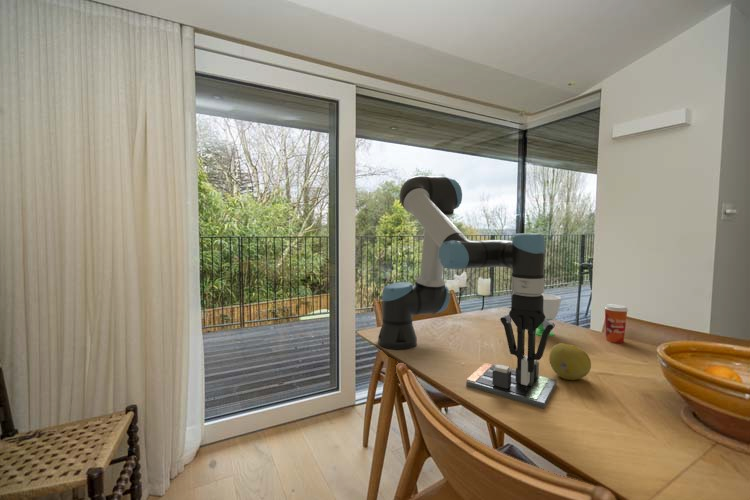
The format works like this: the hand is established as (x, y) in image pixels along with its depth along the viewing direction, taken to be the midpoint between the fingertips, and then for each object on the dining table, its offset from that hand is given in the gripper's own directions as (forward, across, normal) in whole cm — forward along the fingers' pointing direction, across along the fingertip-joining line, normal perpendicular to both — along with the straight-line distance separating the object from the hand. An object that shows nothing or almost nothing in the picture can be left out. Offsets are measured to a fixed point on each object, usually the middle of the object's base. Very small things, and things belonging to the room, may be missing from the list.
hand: (525, 382), depth 87 cm
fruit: (+4, +7, +21) cm, 23 cm away
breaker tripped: (+2, -6, 0) cm, 6 cm away
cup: (+5, -9, +63) cm, 64 cm away
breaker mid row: (+2, -1, +5) cm, 6 cm away
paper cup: (+5, +16, +69) cm, 71 cm away
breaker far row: (+2, -1, +11) cm, 11 cm away
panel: (+4, -5, +5) cm, 8 cm away
